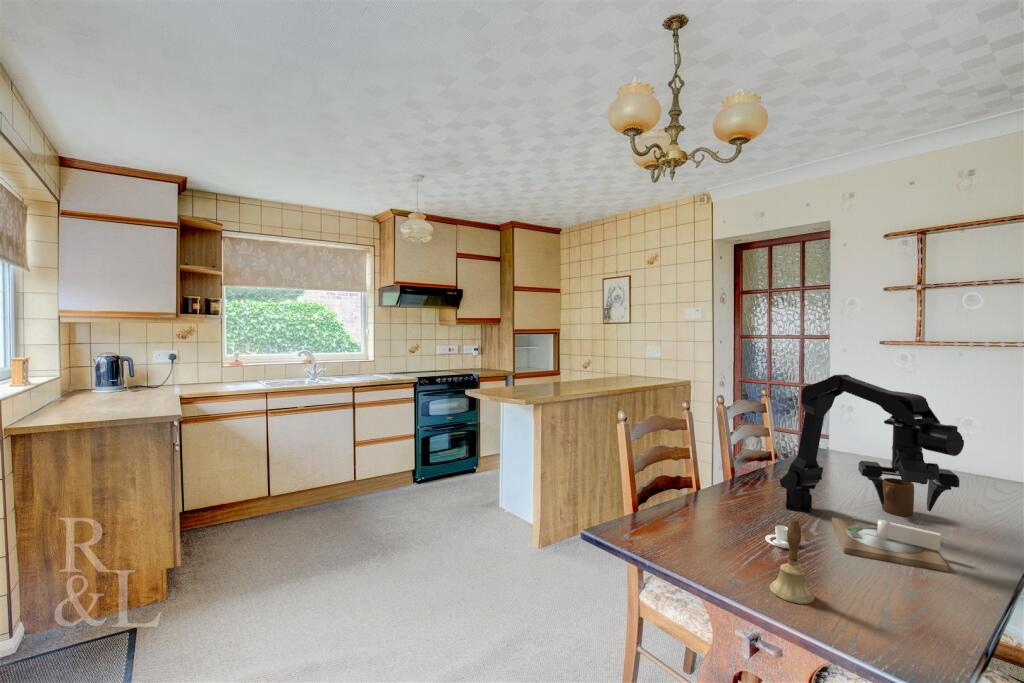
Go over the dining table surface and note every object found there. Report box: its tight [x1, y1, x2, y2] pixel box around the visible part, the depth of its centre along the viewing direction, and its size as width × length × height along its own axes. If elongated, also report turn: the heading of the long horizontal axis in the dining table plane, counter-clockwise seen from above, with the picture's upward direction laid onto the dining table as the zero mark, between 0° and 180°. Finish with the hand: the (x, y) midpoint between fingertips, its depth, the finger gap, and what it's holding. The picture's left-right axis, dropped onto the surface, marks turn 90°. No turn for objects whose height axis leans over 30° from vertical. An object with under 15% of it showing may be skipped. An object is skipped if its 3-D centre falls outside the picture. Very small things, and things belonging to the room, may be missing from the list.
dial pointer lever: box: [850, 517, 942, 552], centre depth 124 cm, size 18×3×4 cm, turn 46°
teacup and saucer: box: [764, 524, 800, 549], centre depth 127 cm, size 9×8×4 cm
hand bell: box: [769, 518, 815, 605], centre depth 102 cm, size 8×8×16 cm
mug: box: [881, 477, 915, 517], centre depth 146 cm, size 12×8×9 cm, turn 123°
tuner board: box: [831, 516, 949, 573], centre depth 125 cm, size 20×21×2 cm
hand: (905, 507), depth 119 cm, fingers open, 9 cm apart
